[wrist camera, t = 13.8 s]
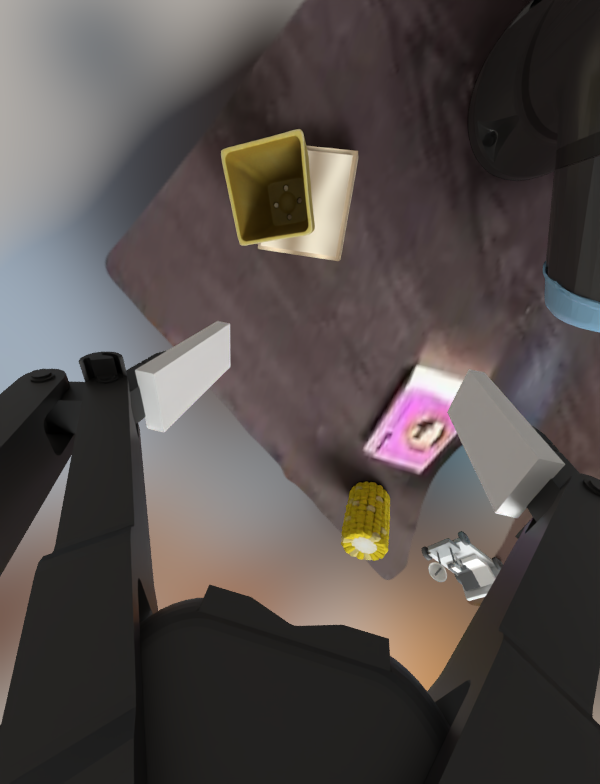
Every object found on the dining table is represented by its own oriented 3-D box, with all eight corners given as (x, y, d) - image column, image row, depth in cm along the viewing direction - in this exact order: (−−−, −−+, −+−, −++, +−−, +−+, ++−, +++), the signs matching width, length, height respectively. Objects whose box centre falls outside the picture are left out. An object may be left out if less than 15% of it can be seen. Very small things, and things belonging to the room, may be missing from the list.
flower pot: (250, 167, 35) (218, 148, 28) (316, 151, 33) (302, 126, 25) (263, 244, 39) (239, 246, 32) (323, 234, 37) (312, 234, 30)
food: (385, 503, 68) (345, 492, 70) (398, 480, 60) (352, 468, 62) (382, 572, 57) (335, 557, 59) (397, 554, 49) (342, 538, 51)
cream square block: (358, 158, 36) (357, 150, 32) (340, 259, 42) (338, 261, 38) (270, 148, 37) (260, 140, 34) (265, 247, 43) (257, 248, 40)
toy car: (420, 580, 63) (465, 565, 57) (413, 540, 71) (451, 522, 65) (472, 617, 66) (520, 605, 60) (460, 574, 74) (501, 560, 68)
